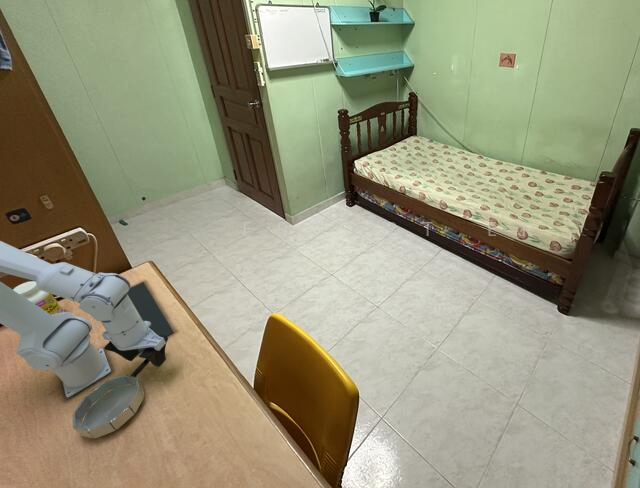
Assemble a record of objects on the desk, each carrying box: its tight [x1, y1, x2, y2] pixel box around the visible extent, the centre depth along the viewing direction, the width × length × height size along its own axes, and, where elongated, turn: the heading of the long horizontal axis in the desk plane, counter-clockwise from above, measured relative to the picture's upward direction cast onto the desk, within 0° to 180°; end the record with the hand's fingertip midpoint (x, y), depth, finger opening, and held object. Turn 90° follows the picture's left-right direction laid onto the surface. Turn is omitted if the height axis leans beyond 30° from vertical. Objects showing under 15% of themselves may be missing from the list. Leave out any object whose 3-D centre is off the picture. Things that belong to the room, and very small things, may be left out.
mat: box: [126, 281, 175, 354], centre depth 91 cm, size 28×8×1 cm, turn 50°
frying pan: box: [72, 358, 151, 440], centre depth 72 cm, size 19×11×4 cm, turn 170°
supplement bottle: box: [12, 280, 65, 315], centre depth 86 cm, size 7×7×13 cm
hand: (147, 360), depth 75 cm, fingers open, 7 cm apart
